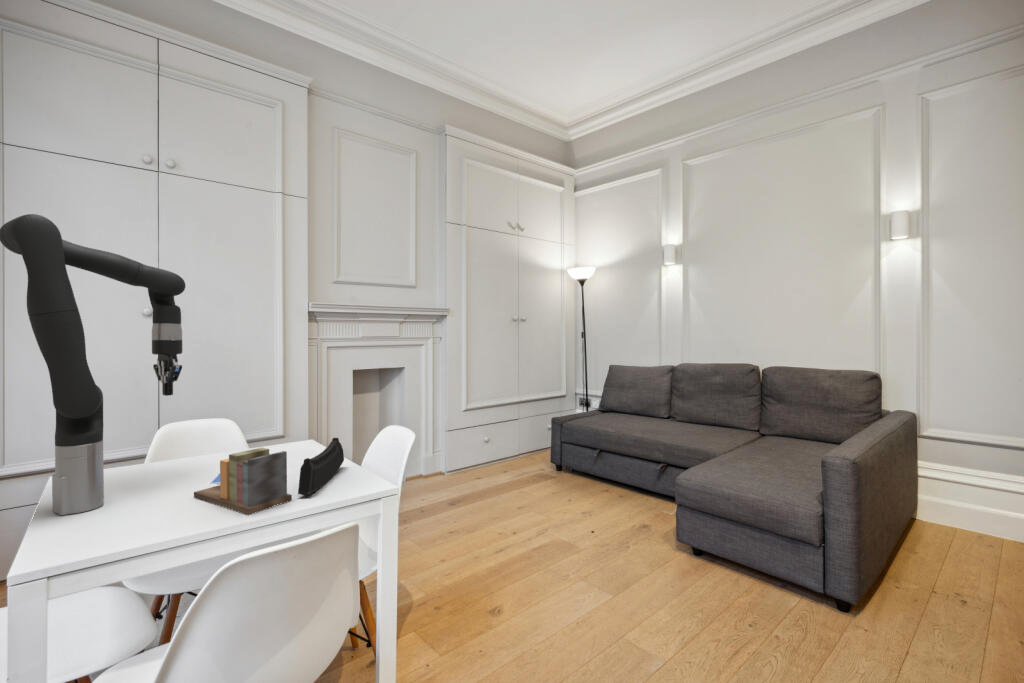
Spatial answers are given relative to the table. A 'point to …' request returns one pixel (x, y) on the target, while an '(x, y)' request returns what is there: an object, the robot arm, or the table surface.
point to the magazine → (320, 468)
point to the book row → (252, 482)
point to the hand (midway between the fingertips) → (167, 395)
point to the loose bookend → (224, 479)
